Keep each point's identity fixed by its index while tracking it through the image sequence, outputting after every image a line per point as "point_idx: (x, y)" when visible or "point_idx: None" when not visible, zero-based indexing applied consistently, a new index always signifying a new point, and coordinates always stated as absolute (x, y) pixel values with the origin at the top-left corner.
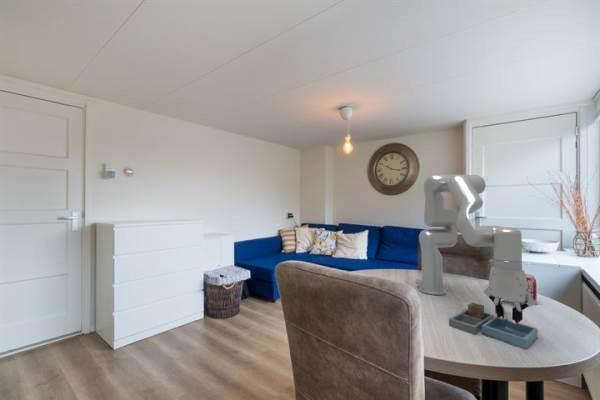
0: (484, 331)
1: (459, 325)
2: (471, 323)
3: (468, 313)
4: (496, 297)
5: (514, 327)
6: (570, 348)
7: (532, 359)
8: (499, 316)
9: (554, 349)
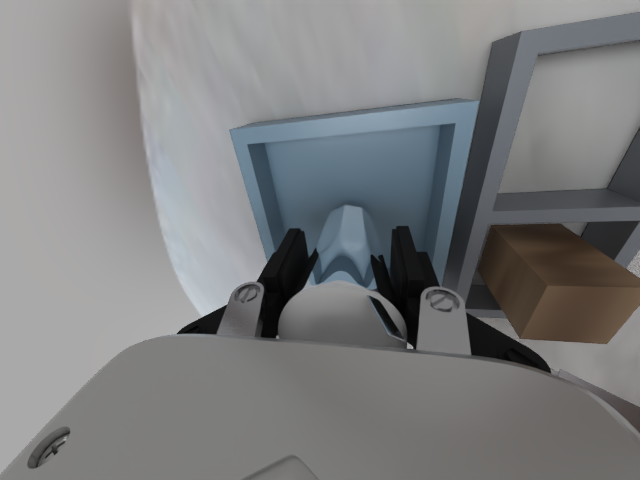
0: (447, 101)
1: None
2: (538, 193)
3: (591, 247)
4: (449, 353)
5: (322, 227)
6: (209, 264)
7: (185, 30)
8: (392, 231)
9: (218, 221)
